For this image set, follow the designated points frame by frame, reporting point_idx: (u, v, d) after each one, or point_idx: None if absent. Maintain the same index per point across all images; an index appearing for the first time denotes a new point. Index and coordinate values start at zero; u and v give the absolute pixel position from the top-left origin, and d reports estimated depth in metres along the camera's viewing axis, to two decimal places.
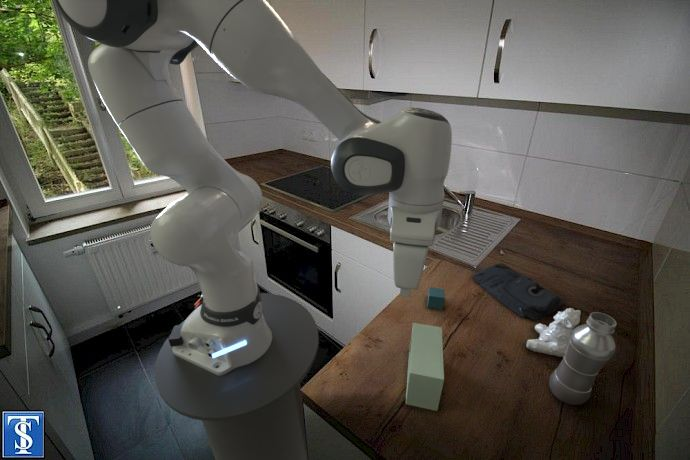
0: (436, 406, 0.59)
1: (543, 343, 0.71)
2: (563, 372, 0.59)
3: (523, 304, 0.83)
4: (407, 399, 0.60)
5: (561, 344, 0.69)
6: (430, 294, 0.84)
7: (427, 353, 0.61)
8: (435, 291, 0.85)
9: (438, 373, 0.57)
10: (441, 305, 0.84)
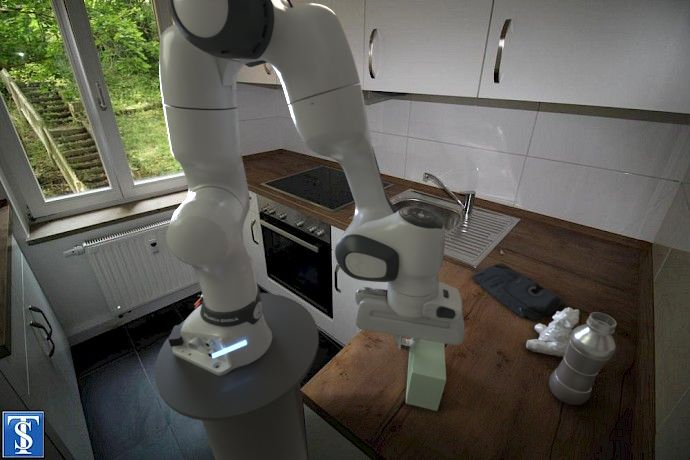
0: (436, 406, 0.59)
1: (543, 343, 0.71)
2: (563, 372, 0.59)
3: (523, 304, 0.83)
4: (407, 398, 0.60)
5: (561, 344, 0.69)
6: None
7: (429, 353, 0.61)
8: None
9: (440, 373, 0.57)
10: None
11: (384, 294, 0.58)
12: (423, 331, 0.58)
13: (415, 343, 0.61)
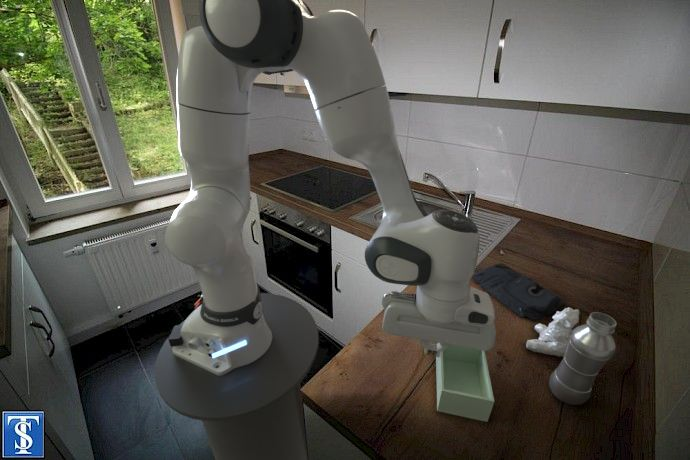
0: (444, 411, 0.59)
1: (543, 343, 0.71)
2: (563, 372, 0.59)
3: (523, 304, 0.83)
4: (450, 393, 0.57)
5: (561, 344, 0.69)
6: None
7: None
8: None
9: None
10: None
11: (413, 298, 0.57)
12: (452, 336, 0.57)
13: (443, 348, 0.60)
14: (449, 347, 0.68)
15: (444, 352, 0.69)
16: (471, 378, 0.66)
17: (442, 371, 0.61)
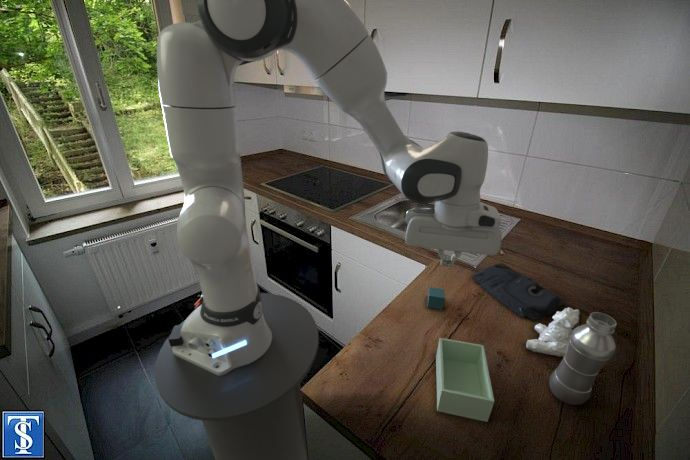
0: (444, 411, 0.59)
1: (543, 343, 0.71)
2: (563, 372, 0.59)
3: (523, 304, 0.83)
4: (450, 393, 0.57)
5: (561, 344, 0.69)
6: (430, 294, 0.84)
7: None
8: (435, 291, 0.85)
9: None
10: (441, 305, 0.84)
11: (431, 211, 0.68)
12: (464, 243, 0.68)
13: (456, 257, 0.71)
14: (449, 347, 0.68)
15: (444, 352, 0.69)
16: (471, 378, 0.66)
17: (442, 371, 0.61)
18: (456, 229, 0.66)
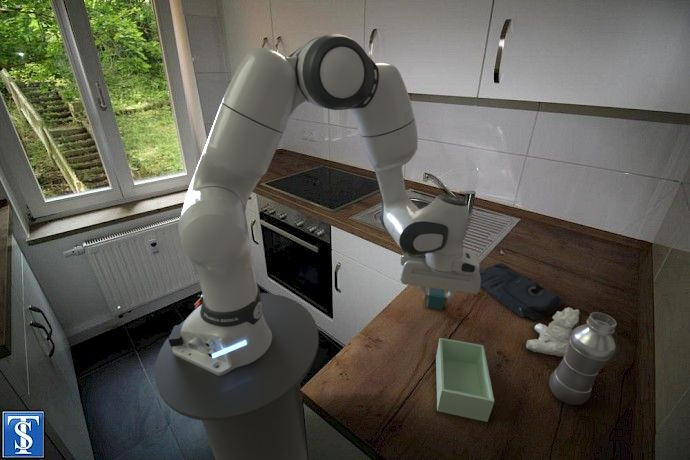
0: (444, 411, 0.59)
1: (543, 343, 0.71)
2: (563, 372, 0.59)
3: (523, 304, 0.83)
4: (450, 393, 0.57)
5: (561, 344, 0.69)
6: (430, 294, 0.84)
7: None
8: (434, 291, 0.85)
9: None
10: (441, 305, 0.84)
11: (423, 257, 0.81)
12: (450, 283, 0.81)
13: (451, 295, 0.83)
14: (449, 347, 0.68)
15: (444, 352, 0.69)
16: (471, 378, 0.66)
17: (442, 371, 0.61)
18: (443, 273, 0.78)
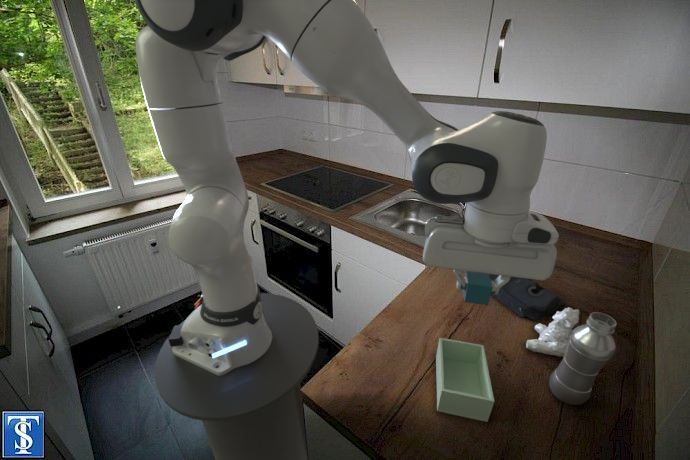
0: (444, 411, 0.59)
1: (543, 343, 0.71)
2: (563, 372, 0.59)
3: (523, 304, 0.83)
4: (450, 393, 0.57)
5: (561, 344, 0.69)
6: (469, 282, 0.54)
7: None
8: (475, 277, 0.56)
9: None
10: (486, 298, 0.54)
11: (461, 222, 0.51)
12: (504, 264, 0.51)
13: (503, 283, 0.53)
14: (449, 347, 0.68)
15: (444, 352, 0.69)
16: (471, 378, 0.66)
17: (442, 371, 0.61)
18: (495, 246, 0.49)
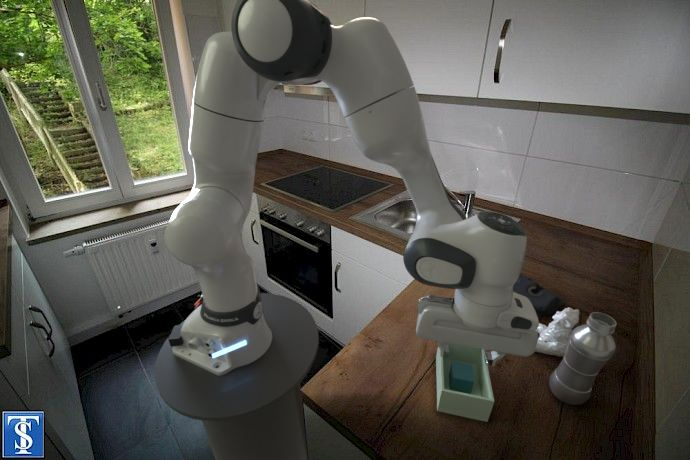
0: (444, 411, 0.59)
1: (543, 343, 0.71)
2: (563, 372, 0.59)
3: None
4: (450, 393, 0.57)
5: (561, 344, 0.69)
6: (454, 375, 0.62)
7: None
8: (460, 369, 0.63)
9: None
10: (469, 390, 0.62)
11: (450, 302, 0.55)
12: (490, 341, 0.55)
13: (499, 357, 0.57)
14: (449, 347, 0.68)
15: None
16: None
17: (442, 371, 0.61)
18: (482, 328, 0.53)
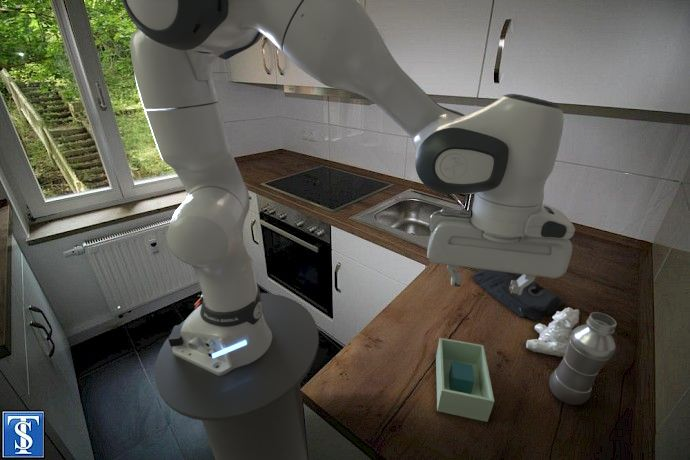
0: (444, 411, 0.59)
1: (543, 343, 0.71)
2: (563, 372, 0.59)
3: (523, 304, 0.83)
4: (450, 393, 0.57)
5: (561, 344, 0.69)
6: (454, 375, 0.62)
7: None
8: (460, 369, 0.63)
9: None
10: (469, 390, 0.62)
11: (468, 215, 0.47)
12: (515, 261, 0.48)
13: (527, 282, 0.50)
14: (449, 347, 0.68)
15: (444, 352, 0.69)
16: None
17: (442, 371, 0.61)
18: (506, 241, 0.45)
